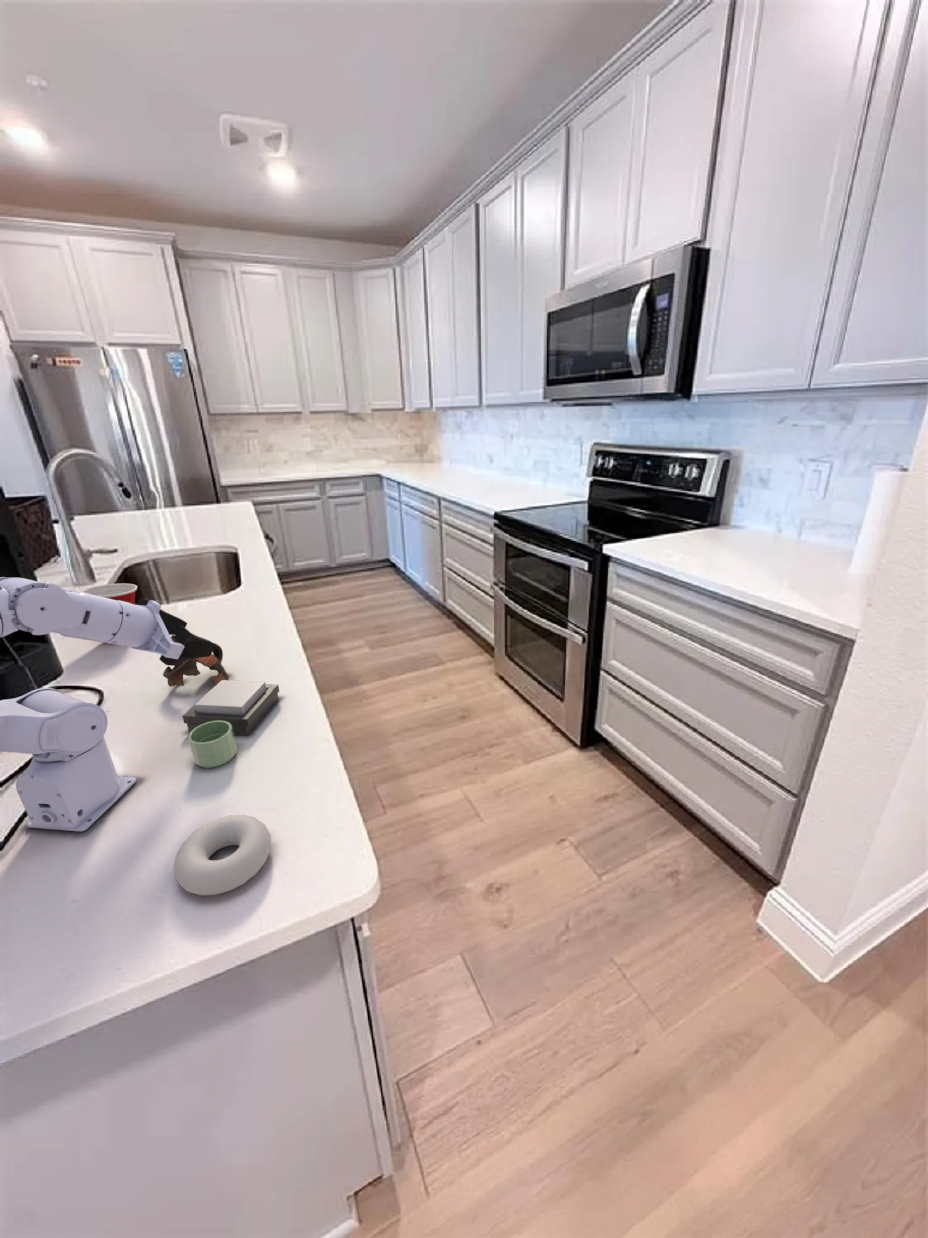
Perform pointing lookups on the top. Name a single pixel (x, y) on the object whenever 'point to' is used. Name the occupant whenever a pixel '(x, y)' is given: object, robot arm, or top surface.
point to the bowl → (212, 743)
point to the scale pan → (231, 697)
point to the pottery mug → (191, 668)
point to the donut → (230, 871)
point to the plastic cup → (114, 592)
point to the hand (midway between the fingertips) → (197, 638)
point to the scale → (238, 722)
